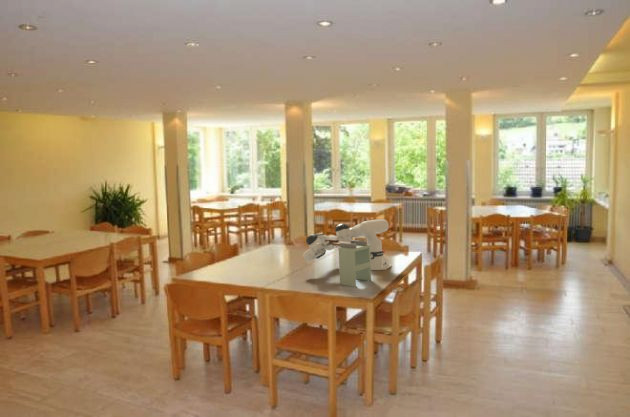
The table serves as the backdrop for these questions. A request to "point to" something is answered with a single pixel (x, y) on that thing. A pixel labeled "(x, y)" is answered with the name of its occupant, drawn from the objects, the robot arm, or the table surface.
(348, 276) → the stand
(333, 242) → the board with handle
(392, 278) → the table surface
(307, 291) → the table surface
